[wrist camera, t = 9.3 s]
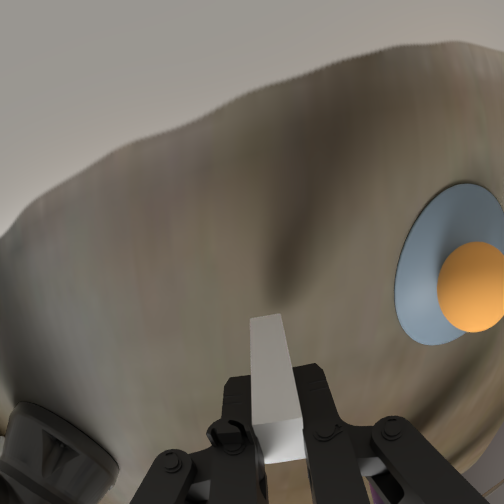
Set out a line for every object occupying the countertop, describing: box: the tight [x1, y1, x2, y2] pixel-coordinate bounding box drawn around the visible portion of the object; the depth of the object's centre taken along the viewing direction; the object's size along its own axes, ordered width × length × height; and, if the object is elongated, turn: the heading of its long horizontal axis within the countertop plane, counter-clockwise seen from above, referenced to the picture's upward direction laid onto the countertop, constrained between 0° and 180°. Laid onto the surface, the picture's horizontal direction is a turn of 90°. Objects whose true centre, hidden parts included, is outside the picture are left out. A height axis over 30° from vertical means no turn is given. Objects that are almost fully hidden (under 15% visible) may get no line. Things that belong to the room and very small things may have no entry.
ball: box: [437, 242, 504, 332], centre depth 13 cm, size 6×6×6 cm
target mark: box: [394, 184, 504, 345], centre depth 15 cm, size 12×12×1 cm
